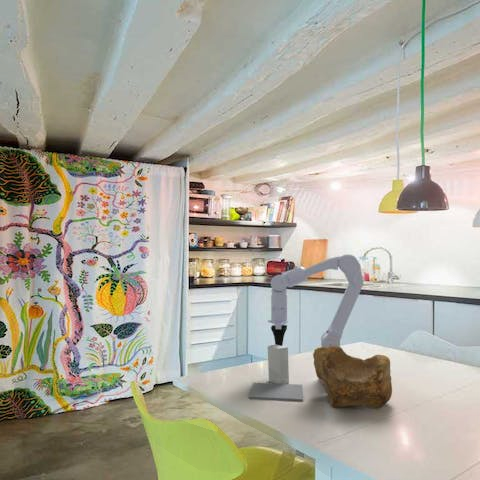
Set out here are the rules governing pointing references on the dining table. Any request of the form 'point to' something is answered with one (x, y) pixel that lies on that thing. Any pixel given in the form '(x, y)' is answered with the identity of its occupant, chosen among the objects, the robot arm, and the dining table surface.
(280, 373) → the skincare box
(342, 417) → the dining table surface
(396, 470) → the dining table surface
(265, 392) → the rubber mat
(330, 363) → the rough brown rock
